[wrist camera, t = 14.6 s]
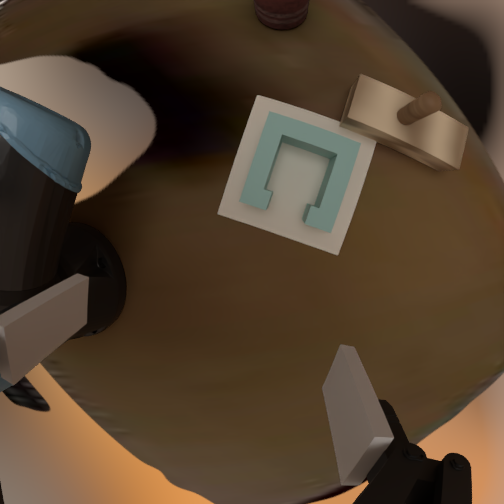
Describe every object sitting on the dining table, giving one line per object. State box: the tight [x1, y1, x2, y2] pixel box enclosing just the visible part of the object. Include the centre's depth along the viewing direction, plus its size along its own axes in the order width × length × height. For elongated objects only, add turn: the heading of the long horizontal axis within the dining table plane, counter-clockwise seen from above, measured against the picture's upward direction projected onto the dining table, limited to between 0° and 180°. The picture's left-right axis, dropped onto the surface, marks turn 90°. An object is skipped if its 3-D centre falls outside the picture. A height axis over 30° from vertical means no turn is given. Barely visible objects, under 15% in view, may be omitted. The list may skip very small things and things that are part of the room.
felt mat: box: [217, 95, 377, 255], centre depth 33 cm, size 14×14×1 cm
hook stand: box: [339, 74, 468, 171], centre depth 26 cm, size 13×5×12 cm, turn 72°
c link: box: [239, 111, 361, 233], centre depth 31 cm, size 9×9×5 cm
